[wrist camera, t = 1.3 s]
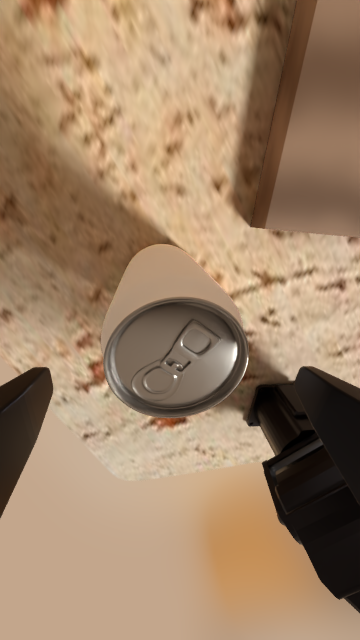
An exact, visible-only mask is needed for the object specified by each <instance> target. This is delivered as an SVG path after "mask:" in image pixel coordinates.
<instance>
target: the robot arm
mask: <svg viewBox="0 0 360 640" xmlns="http://www.w3.org/2000/svg"><path fill="white" fill-rule="evenodd" d="M52 394H53V383H52V378H51V373H50V370H49V368H47V367H34V368H32V369H30V370H28V371H27V372H25V373H23V374H21V375H20V376H18V377H16V378H14V379H12V380H11V381H9V382H7V383H6V384H4V385H2V386H0V518H1V516H2V514H3V511H4V509H5V507H6V505H7V503H8V501H9V498H10V496H11V494H12V492H13V490H14V488H15V486H16V484H17V481H18V479H19V477H20V475H21V473H22V471H23V469H24V466H25V464H26V462H27V460H28V458H29V455H30V454H31V451H32V449H33V447H34V445H35V443H36V440H37V438H38V435H39V432H40V429H41V426H42V423H43V420H44V418H45V414H46V412H47V409H48V406H49V403H50V400H51V397H52ZM247 424H248V426H260V427H261V429H262V431H263V433H264V435H265V437H266V439H267V440H268V442H269V444H270V446H271V448H272V450H273V452H274V454H275V457H273V458H271V459H269V460H268V461H267V460H266V461H264V462H262V465H263V468H264V474H265V477H266V480H267V483H268V486H269V489H270V493H271V496H272V499H273V502H274V505H275V508H276V512H277V516H278V519H279V521H280V523H281V524H282V525H285V526H286V527H287V529H288V530H289V532H290V533H291V535H292V536H293V538H294V539H295V540H296V541H297V542H298V543H299V544H302V545H303V546H304V548H305V550H306V552H307V554H308V556H309V558H310V560H311V562H312V564H313V566H314V568H315V571H316V573H317V575H318V577H319V579H320V580H321V582H322V583H323V584H324V585H325V586H326V587H327V588H328V589H329V591H330V592H331V593H332V594H333V595H334V596H335V597H336V598H338V599H339V600H340V599H342V598H344V599H345V600H346V601H347V602H348V603H350V604H351V605H352V606H353V607H354V608H355V609H356V610H357V611H358V612H359V613H360V388H358V387H356V386H353V385H351V384H349V383H347V382H345V381H343V380H341V379H339V378H336V377H334V376H332V375H330V374H328V373H326V372H324V371H321V370H319V369H317V368H315V367H312V366H303V367H301V368H300V369H299V372H298V374H297V377H296V379H295V382H294V384H284V385H259V386H258V387H257V389H256V392H255V395H254V399H253V402H252V405H251V408H250V412H249V415H248V418H247Z"/></svg>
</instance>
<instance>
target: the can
mask: <svg viewBox="0 0 360 640" xmlns="http://www.w3.org/2000/svg"><path fill="white" fill-rule="evenodd" d="M101 349H102V354H103V358H104V359H103V366H104V373H105V377H106V380H107V382H108V385H109V386H110V388H111V390H112V391H113V393H114V394H115V395H116V396H117V397H118V398H119V399H120V400H121V401H122V402H123V403H124V404H126V405H127V406H129V407H130V408H132V409H134V410H136V411H138V412H140V413H143V414H146V415H149V416H154V417H160V418H180V417H186V416H191V415H195V414H198V413H201V412H204V411H206V410H208V409H210V408H212V407H214V406H216V405H217V404H219V403H220V402H222V401H223V400H224V399H225V398H227V397H228V396H229V395H230V394H231V393H232V392H233V391H234V390H235V388H236V387H237V386H238V384H239V383H240V381H241V380H242V378H243V376H244V374H245V371H246V368H247V365H248V359H249V346H248V341H247V337H246V334H245V332H244V329H243V322H242V318H241V315H240V312H239V310H238V308H237V306H236V305H235V303H234V302H233V300H232V299H231V297H230V296H229V295H228V294H227V293H226V291H225V290H224V289H223V288H222V287H221V286H220V285H219V284H218V283H217V282H216V281H215V280H214V279H213V278H212V277H211V276H210V275H209V274H208V273H207V272H206V271H205V270H204V269H203V268H202V267H201V266H200V265H199V264H198V263H197V262H196V261H195V260H194V259H193V258H192V257H191V256H190V255H189V254H188V253H186V252H185V251H184V250H182V249H180V248H178V247H176V246H173V245H169V244H156V245H151V246H148V247H146V248H144V249H142V250H141V251H139V252H138V253H137V254H136V255H135V256H134V257H133V258H132V259H131V261H130V262H129V264H128V266H127V268H126V270H125V272H124V274H123V277H122V279H121V281H120V283H119V285H118V288H117V290H116V292H115V294H114V297H113V299H112V301H111V304H110V306H109V309H108V311H107V314H106V316H105V319H104V322H103V326H102V332H101Z"/></svg>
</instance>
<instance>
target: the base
mask: <svg viewBox="0 0 360 640" xmlns="http://www.w3.org/2000/svg"><path fill="white" fill-rule="evenodd" d="M251 227H255V228H263V229H274V230H284V231H295V232H306V233H316V234H327V235H338V236H349V237H359V238H360V0H297V3H296V8H295V13H294V17H293V22H292V27H291V32H290V37H289V42H288V47H287V52H286V56H285V61H284V66H283V71H282V76H281V81H280V86H279V91H278V95H277V100H276V105H275V110H274V115H273V120H272V125H271V130H270V134H269V139H268V144H267V149H266V154H265V159H264V164H263V169H262V174H261V178H260V183H259V188H258V193H257V198H256V203H255V208H254V213H253V217H252V222H251Z"/></svg>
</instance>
